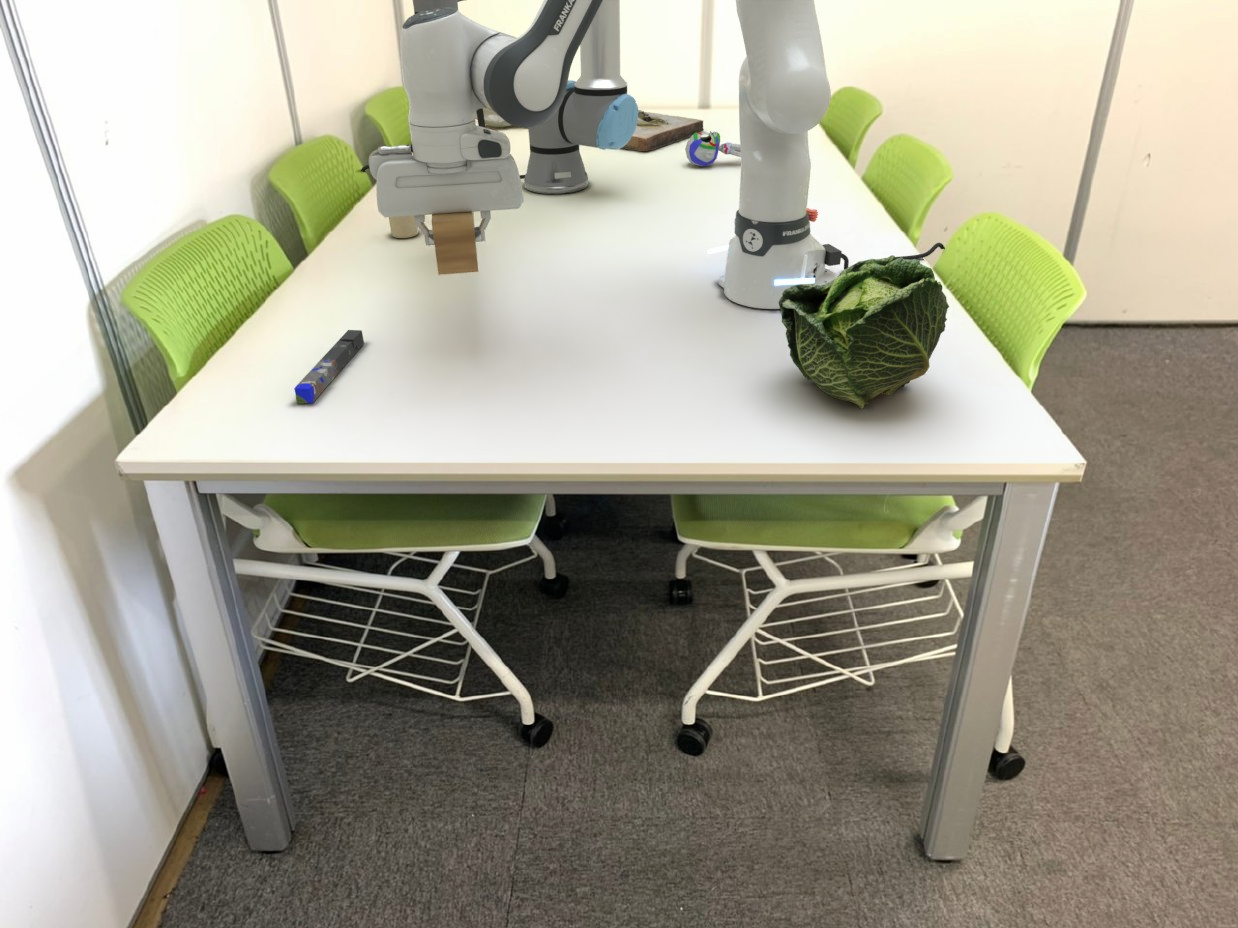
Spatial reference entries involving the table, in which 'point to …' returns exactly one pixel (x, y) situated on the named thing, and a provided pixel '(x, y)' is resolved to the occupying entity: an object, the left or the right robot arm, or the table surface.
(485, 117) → the anatomical model
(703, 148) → the toy
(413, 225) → the candle
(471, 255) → the beam
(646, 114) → the plaque
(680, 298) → the table surface
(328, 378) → the pillar
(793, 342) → the vegetable
